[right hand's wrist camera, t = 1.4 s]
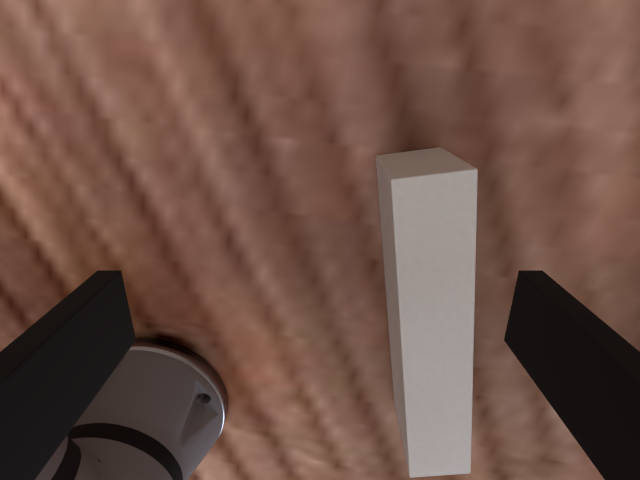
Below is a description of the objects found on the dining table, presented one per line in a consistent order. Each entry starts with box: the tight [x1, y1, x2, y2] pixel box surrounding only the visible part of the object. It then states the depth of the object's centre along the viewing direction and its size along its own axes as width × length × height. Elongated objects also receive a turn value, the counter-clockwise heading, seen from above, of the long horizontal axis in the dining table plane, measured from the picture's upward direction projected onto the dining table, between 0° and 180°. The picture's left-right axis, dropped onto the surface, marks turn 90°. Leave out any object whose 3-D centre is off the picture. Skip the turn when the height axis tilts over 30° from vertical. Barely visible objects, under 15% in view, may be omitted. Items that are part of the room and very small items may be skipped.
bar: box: [376, 147, 478, 477], centre depth 32 cm, size 26×5×8 cm, turn 7°
